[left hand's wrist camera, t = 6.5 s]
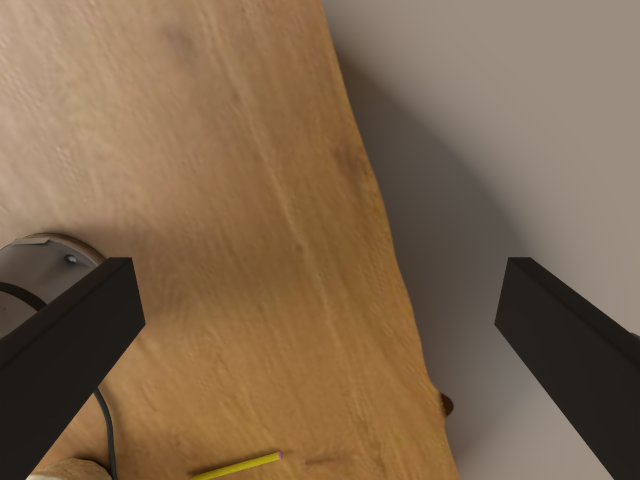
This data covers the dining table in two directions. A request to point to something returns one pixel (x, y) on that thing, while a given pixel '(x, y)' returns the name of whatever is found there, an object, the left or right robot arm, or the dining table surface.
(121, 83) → the dining table surface
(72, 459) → the bowl
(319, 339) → the dining table surface
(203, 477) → the pencil
